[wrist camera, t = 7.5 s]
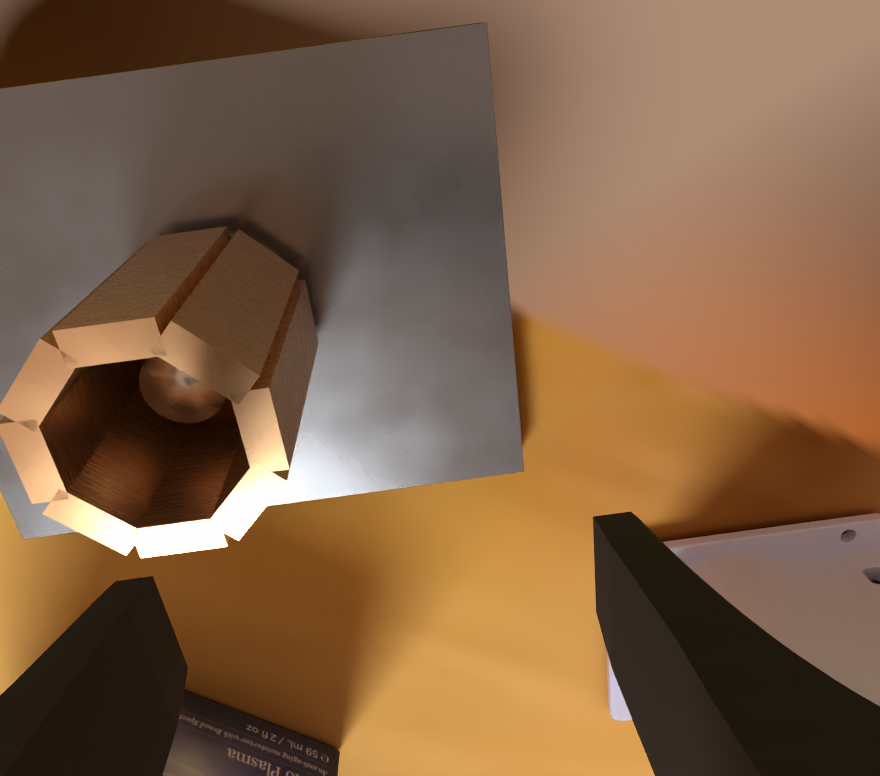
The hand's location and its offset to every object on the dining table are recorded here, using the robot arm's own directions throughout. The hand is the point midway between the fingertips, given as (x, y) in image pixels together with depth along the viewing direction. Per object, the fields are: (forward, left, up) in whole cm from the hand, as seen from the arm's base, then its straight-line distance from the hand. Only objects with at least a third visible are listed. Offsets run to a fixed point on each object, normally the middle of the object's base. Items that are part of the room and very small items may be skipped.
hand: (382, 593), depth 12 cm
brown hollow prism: (+4, -2, -8) cm, 9 cm away
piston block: (+4, -2, -10) cm, 11 cm away
